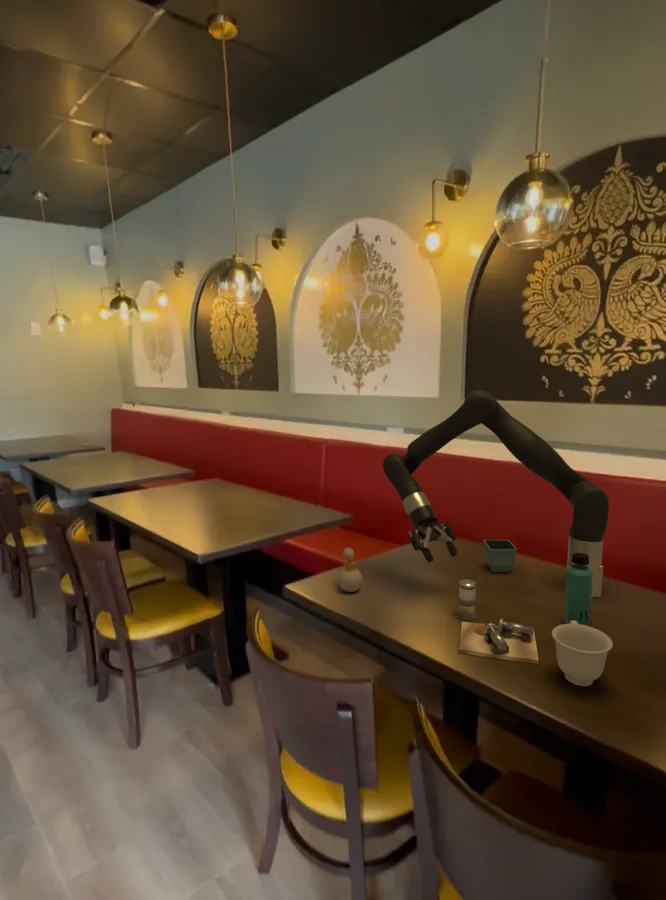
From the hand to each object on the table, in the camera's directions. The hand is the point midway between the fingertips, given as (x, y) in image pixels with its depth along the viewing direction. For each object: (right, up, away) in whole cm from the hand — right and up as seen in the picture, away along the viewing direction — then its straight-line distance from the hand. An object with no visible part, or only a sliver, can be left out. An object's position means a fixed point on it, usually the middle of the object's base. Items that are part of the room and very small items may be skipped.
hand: (443, 558), depth 150 cm
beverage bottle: (+32, -16, -13) cm, 38 cm away
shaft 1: (+8, -17, -23) cm, 29 cm away
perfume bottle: (-27, -12, +12) cm, 32 cm away
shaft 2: (+14, -16, -19) cm, 28 cm away
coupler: (+5, -15, -7) cm, 17 cm away
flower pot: (+24, -9, +25) cm, 36 cm away
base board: (+9, -17, -20) cm, 28 cm away
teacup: (+23, -19, -33) cm, 45 cm away
